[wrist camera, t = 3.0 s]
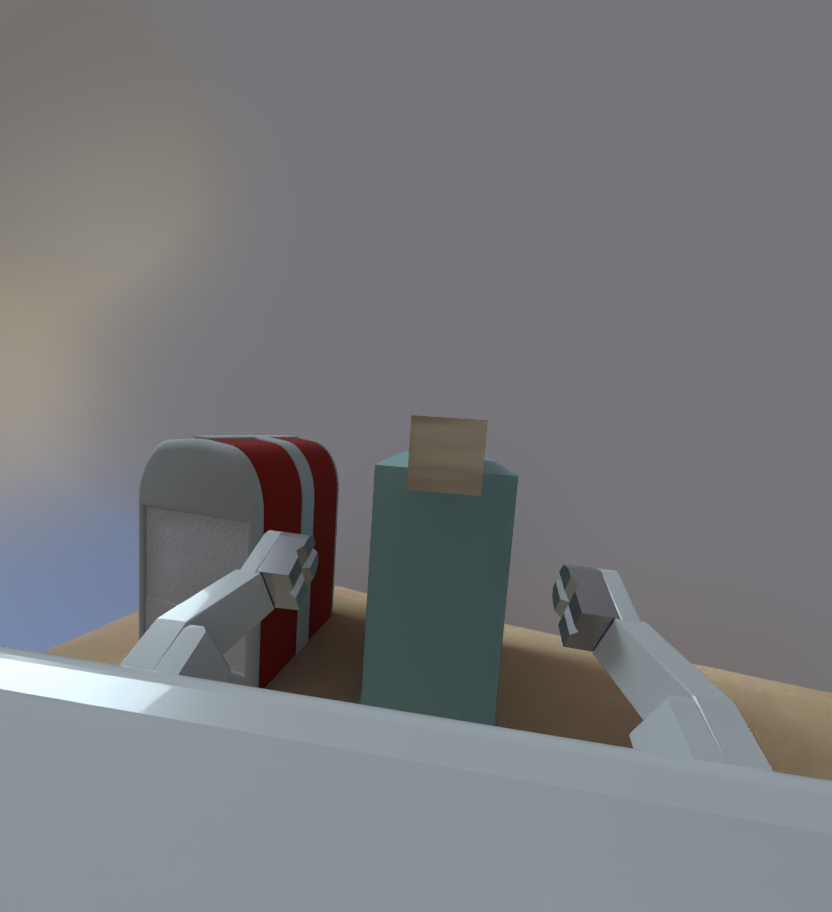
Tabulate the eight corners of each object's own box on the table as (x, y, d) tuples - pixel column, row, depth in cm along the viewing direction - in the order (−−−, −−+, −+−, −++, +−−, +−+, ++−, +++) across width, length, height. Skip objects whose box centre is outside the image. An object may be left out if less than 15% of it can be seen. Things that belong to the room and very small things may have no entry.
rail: (430, 455, 42) (432, 424, 41) (462, 458, 41) (464, 426, 41) (406, 489, 18) (411, 415, 17) (481, 496, 17) (487, 420, 17)
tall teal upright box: (386, 623, 49) (397, 450, 47) (480, 634, 48) (496, 458, 46) (344, 753, 29) (360, 465, 27) (503, 779, 28) (533, 479, 26)
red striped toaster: (335, 612, 51) (344, 439, 49) (253, 701, 34) (261, 442, 32) (246, 592, 55) (250, 431, 53) (133, 663, 38) (132, 430, 36)
